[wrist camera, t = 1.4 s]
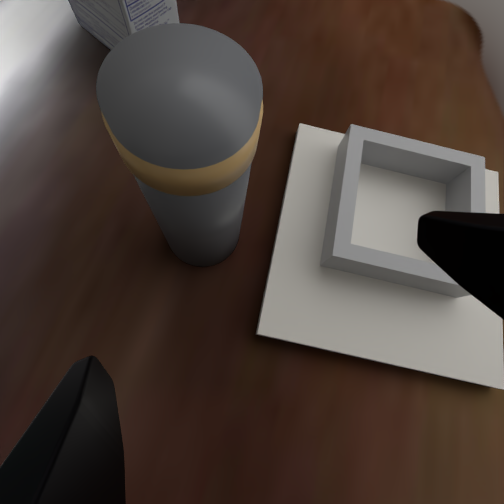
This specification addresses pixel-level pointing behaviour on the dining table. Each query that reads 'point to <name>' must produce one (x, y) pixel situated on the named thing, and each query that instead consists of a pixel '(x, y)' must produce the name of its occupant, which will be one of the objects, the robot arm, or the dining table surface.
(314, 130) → the socket plate
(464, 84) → the dining table surface
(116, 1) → the medicine box
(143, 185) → the grey can
